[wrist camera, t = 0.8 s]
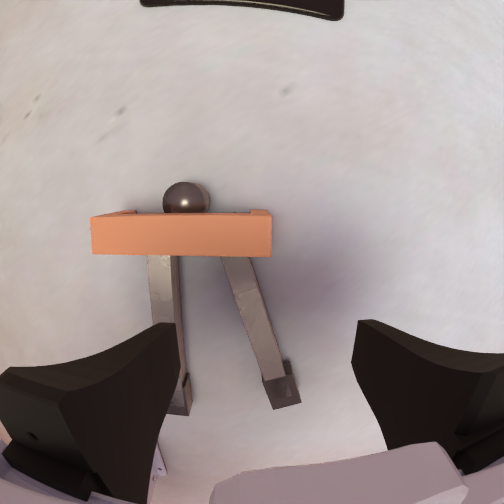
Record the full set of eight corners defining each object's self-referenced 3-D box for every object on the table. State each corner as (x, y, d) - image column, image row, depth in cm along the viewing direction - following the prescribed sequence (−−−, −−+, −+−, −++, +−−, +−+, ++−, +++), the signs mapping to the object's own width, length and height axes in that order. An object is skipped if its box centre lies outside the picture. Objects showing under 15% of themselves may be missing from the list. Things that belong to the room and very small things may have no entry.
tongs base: (148, 184, 18) (133, 184, 16) (210, 182, 18) (204, 181, 16) (167, 398, 22) (160, 417, 19) (216, 402, 22) (213, 423, 19)
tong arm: (209, 219, 18) (205, 223, 17) (242, 209, 18) (242, 211, 17) (271, 396, 21) (273, 409, 20) (298, 389, 21) (301, 402, 20)
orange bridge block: (122, 210, 18) (90, 217, 14) (266, 209, 18) (272, 215, 14) (124, 240, 19) (92, 254, 14) (265, 241, 19) (270, 256, 14)
